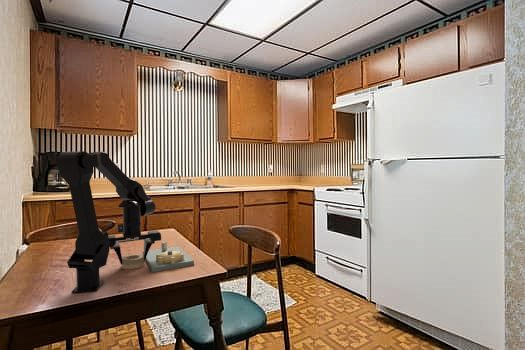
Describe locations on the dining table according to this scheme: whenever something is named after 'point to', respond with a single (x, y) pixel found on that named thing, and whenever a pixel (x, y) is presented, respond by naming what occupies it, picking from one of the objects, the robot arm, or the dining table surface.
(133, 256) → the beige thick ring
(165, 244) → the peg
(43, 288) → the dining table surface
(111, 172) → the robot arm
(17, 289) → the dining table surface
